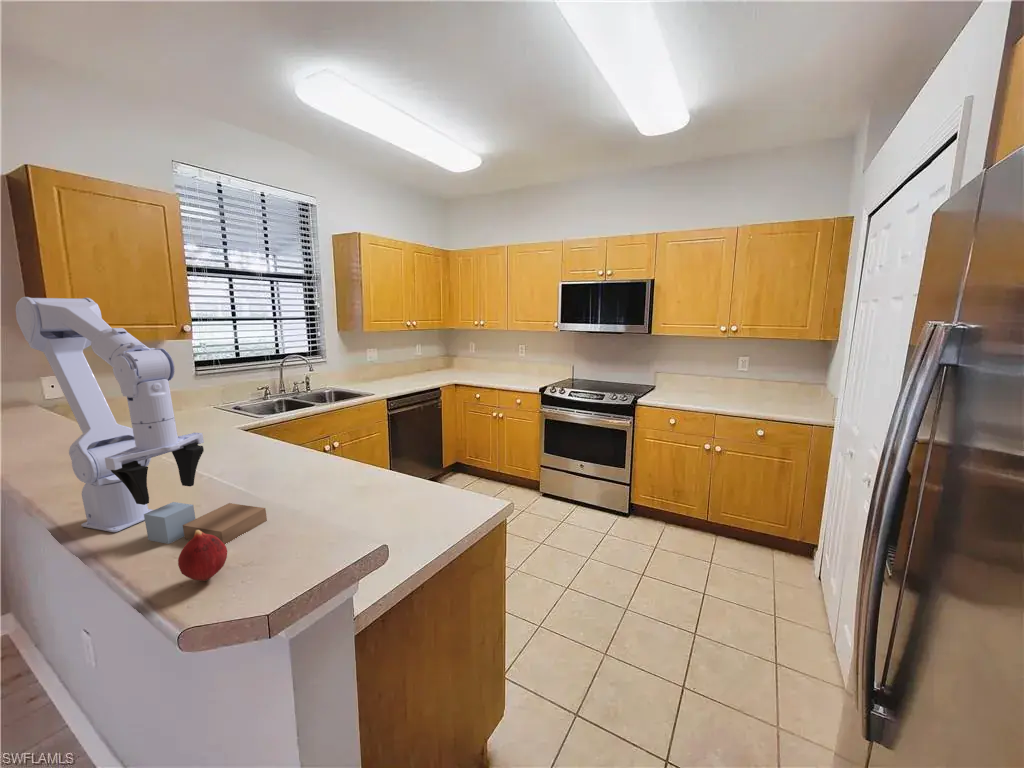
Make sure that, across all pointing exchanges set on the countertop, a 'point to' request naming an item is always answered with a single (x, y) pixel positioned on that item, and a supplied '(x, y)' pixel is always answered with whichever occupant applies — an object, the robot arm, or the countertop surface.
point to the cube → (168, 522)
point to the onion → (202, 556)
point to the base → (227, 522)
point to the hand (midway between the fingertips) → (166, 494)
